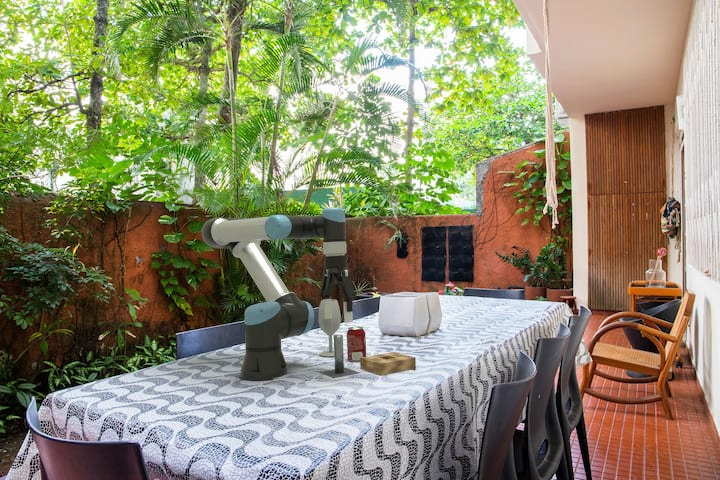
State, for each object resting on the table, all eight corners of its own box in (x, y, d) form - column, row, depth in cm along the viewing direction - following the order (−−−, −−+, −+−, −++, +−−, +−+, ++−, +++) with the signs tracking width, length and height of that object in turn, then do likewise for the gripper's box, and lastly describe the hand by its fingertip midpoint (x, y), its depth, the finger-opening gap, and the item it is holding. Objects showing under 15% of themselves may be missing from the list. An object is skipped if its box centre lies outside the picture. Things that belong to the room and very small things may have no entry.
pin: (337, 374, 162) (336, 336, 162) (333, 372, 164) (332, 335, 164) (345, 372, 163) (344, 335, 163) (341, 370, 166) (339, 334, 166)
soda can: (364, 363, 177) (363, 329, 178) (345, 363, 179) (344, 329, 179) (368, 359, 184) (366, 326, 184) (350, 359, 185) (348, 326, 185)
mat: (333, 379, 157) (333, 378, 157) (318, 373, 165) (318, 372, 165) (360, 374, 162) (360, 372, 162) (345, 368, 171) (345, 367, 171)
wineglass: (332, 358, 188) (330, 302, 188) (315, 356, 193) (313, 301, 193) (346, 353, 195) (344, 299, 195) (329, 351, 200) (327, 299, 200)
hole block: (380, 376, 158) (380, 364, 158) (360, 369, 168) (360, 357, 168) (415, 369, 165) (415, 357, 165) (394, 363, 175) (394, 351, 175)
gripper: (365, 254, 156) (368, 322, 155) (327, 255, 177) (329, 315, 177) (344, 254, 152) (347, 325, 151) (308, 256, 173) (310, 318, 173)
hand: (338, 320), depth 164 cm, fingers open, 13 cm apart
